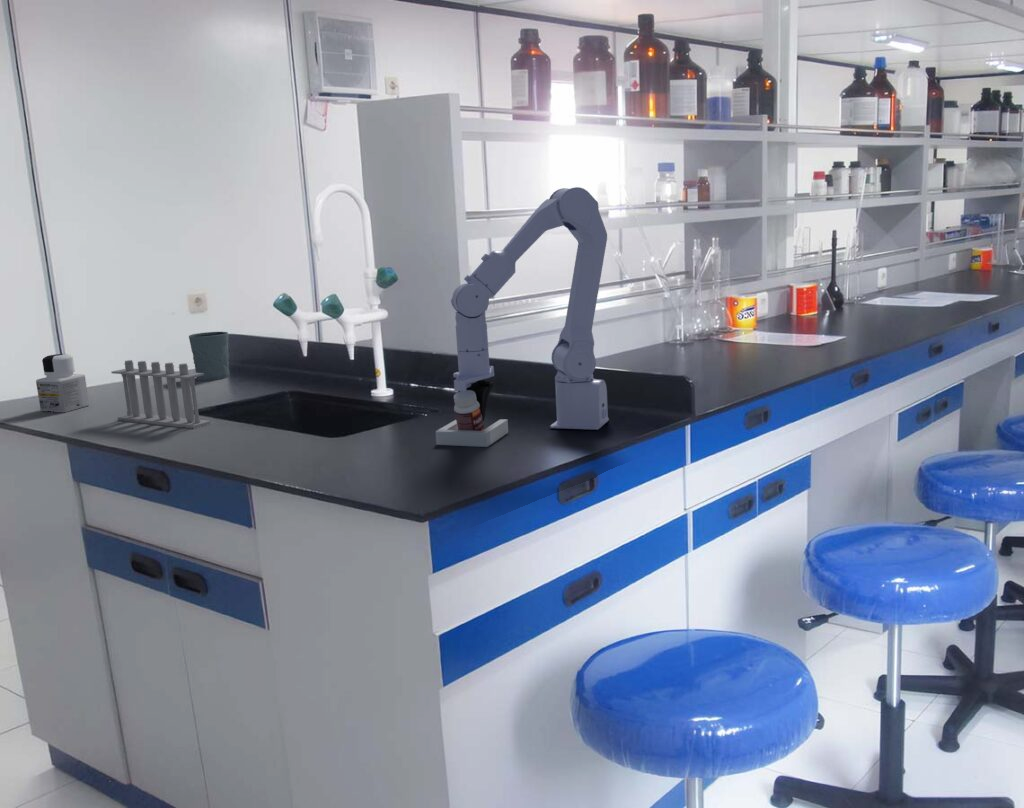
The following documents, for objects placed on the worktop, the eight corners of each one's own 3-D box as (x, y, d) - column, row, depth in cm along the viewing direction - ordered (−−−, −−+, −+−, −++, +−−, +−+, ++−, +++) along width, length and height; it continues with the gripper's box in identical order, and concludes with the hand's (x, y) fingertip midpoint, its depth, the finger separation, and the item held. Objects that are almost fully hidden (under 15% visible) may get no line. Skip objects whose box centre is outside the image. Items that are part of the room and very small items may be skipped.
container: (40, 411, 224) (31, 357, 221) (66, 404, 231) (57, 352, 228) (64, 412, 221) (55, 357, 218) (90, 405, 228) (82, 352, 225)
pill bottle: (481, 441, 172) (473, 400, 168) (456, 441, 173) (448, 401, 169) (487, 428, 176) (480, 388, 172) (463, 428, 177) (455, 389, 174)
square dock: (508, 432, 178) (507, 419, 177) (487, 446, 168) (486, 433, 168) (459, 430, 181) (458, 418, 181) (436, 444, 172) (435, 431, 171)
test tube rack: (211, 424, 200) (203, 362, 197) (194, 429, 196) (186, 366, 194) (134, 416, 213) (126, 358, 210) (117, 420, 209) (109, 361, 207)
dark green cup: (187, 381, 254) (181, 337, 251) (205, 374, 264) (200, 331, 261) (222, 380, 252) (217, 335, 250) (239, 373, 262) (234, 330, 259)
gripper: (468, 343, 182) (472, 412, 185) (436, 356, 169) (441, 430, 171) (502, 343, 179) (506, 413, 182) (472, 356, 166) (477, 431, 169)
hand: (477, 421), depth 177 cm, fingers closed
